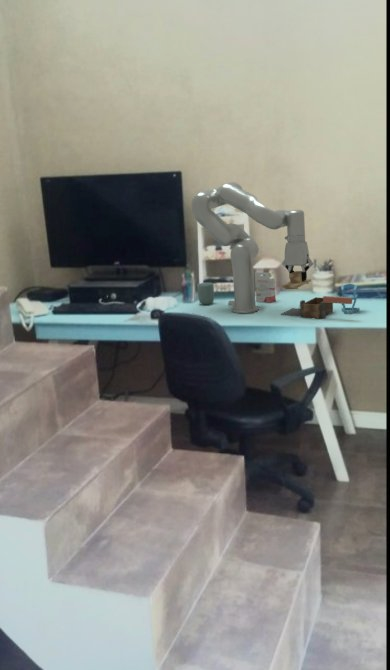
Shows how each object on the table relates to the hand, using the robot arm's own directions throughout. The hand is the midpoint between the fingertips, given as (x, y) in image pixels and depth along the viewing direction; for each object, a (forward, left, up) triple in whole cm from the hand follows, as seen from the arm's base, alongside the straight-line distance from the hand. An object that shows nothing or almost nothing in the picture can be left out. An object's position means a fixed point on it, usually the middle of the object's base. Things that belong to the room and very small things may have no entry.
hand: (298, 279), depth 283 cm
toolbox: (+10, -3, -14) cm, 18 cm away
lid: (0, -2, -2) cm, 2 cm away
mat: (0, -2, -14) cm, 15 cm away
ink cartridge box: (-25, +15, -15) cm, 33 cm away
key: (+21, -8, -7) cm, 24 cm away
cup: (-51, +2, -15) cm, 53 cm away
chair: (+21, +6, -15) cm, 26 cm away
